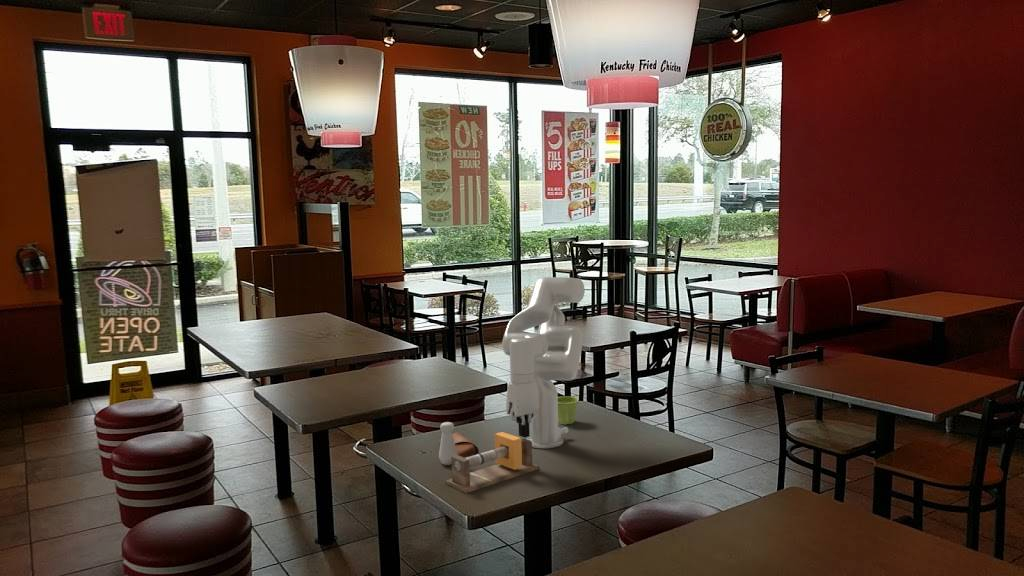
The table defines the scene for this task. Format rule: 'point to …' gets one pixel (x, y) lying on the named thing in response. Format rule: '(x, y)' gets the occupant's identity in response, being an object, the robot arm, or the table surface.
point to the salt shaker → (447, 443)
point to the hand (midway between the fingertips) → (524, 436)
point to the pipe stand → (488, 468)
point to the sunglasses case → (464, 445)
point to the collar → (514, 450)
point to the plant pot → (566, 409)
